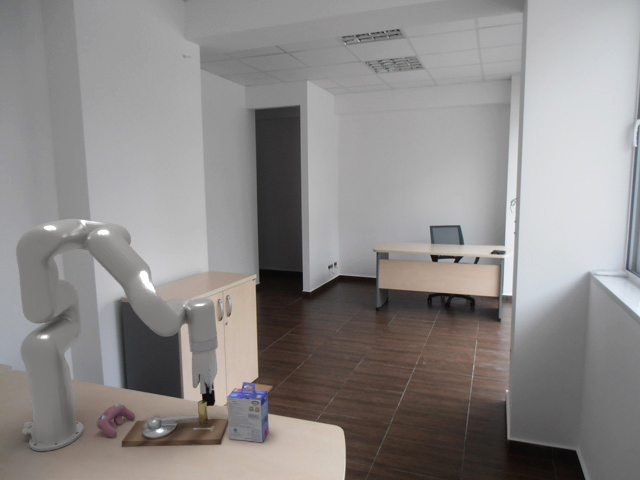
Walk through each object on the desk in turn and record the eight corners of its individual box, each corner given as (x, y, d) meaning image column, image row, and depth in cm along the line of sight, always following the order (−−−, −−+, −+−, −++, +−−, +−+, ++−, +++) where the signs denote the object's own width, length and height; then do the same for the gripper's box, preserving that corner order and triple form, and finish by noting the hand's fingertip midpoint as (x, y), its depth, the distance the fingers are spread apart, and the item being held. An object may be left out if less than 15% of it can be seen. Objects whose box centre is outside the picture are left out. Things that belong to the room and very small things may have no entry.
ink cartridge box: (270, 431, 116) (267, 381, 114) (263, 443, 110) (261, 392, 108) (236, 427, 118) (233, 379, 115) (228, 439, 112) (225, 389, 110)
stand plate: (122, 446, 110) (121, 441, 110) (137, 425, 120) (137, 420, 119) (220, 444, 110) (220, 438, 110) (228, 423, 120) (228, 418, 119)
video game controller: (125, 422, 124) (114, 402, 124) (137, 417, 123) (126, 396, 123) (103, 443, 114) (90, 421, 114) (115, 437, 113) (103, 415, 113)
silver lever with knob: (137, 440, 110) (135, 416, 109) (147, 421, 119) (145, 398, 118) (205, 434, 112) (204, 410, 111) (210, 415, 121) (208, 393, 120)
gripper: (197, 334, 123) (202, 392, 126) (181, 355, 109) (188, 420, 111) (222, 332, 123) (227, 390, 126) (210, 353, 109) (216, 418, 111)
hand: (209, 404), depth 119 cm, fingers closed
